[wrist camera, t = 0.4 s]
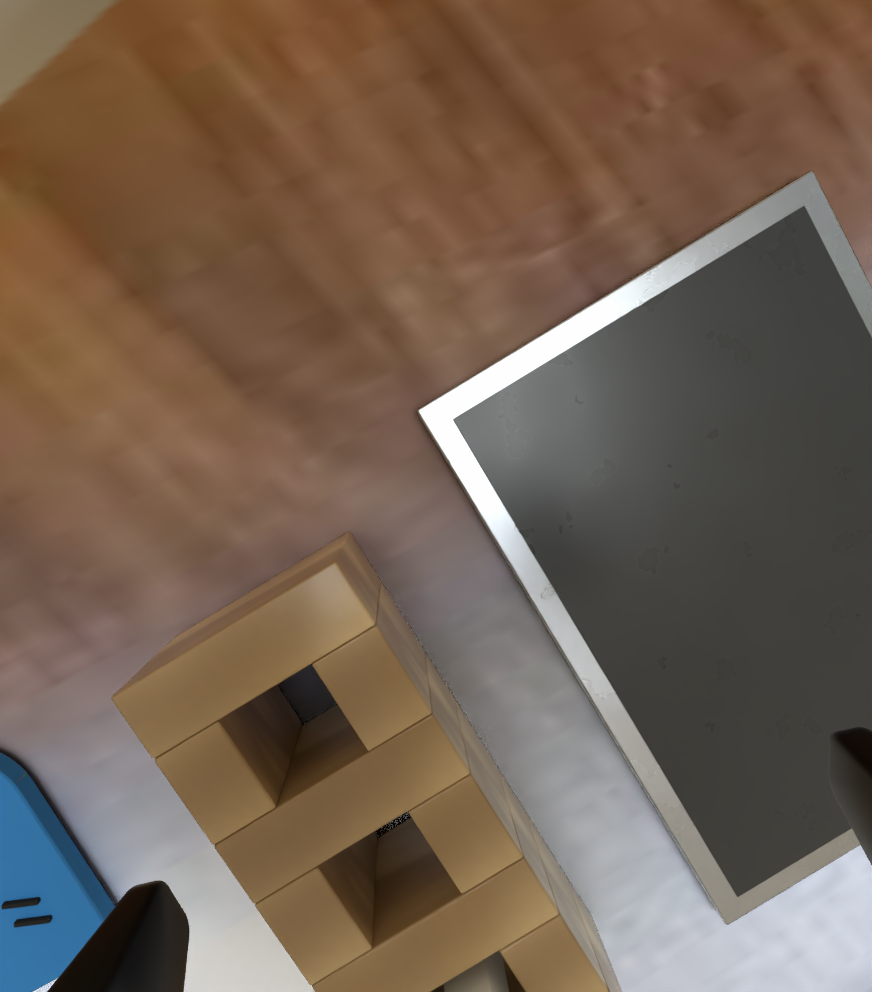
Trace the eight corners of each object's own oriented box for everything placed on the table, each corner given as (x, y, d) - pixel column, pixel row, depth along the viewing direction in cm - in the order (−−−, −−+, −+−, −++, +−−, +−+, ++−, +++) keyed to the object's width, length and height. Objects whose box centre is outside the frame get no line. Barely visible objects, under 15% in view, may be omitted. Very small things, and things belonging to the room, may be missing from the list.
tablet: (1063, 700, 24) (1088, 710, 23) (715, 910, 24) (728, 928, 23) (797, 178, 22) (815, 167, 21) (415, 410, 22) (416, 410, 21)
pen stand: (592, 917, 24) (644, 1048, 19) (430, 1015, 24) (439, 1172, 19) (349, 530, 22) (335, 560, 17) (174, 637, 22) (108, 698, 17)
